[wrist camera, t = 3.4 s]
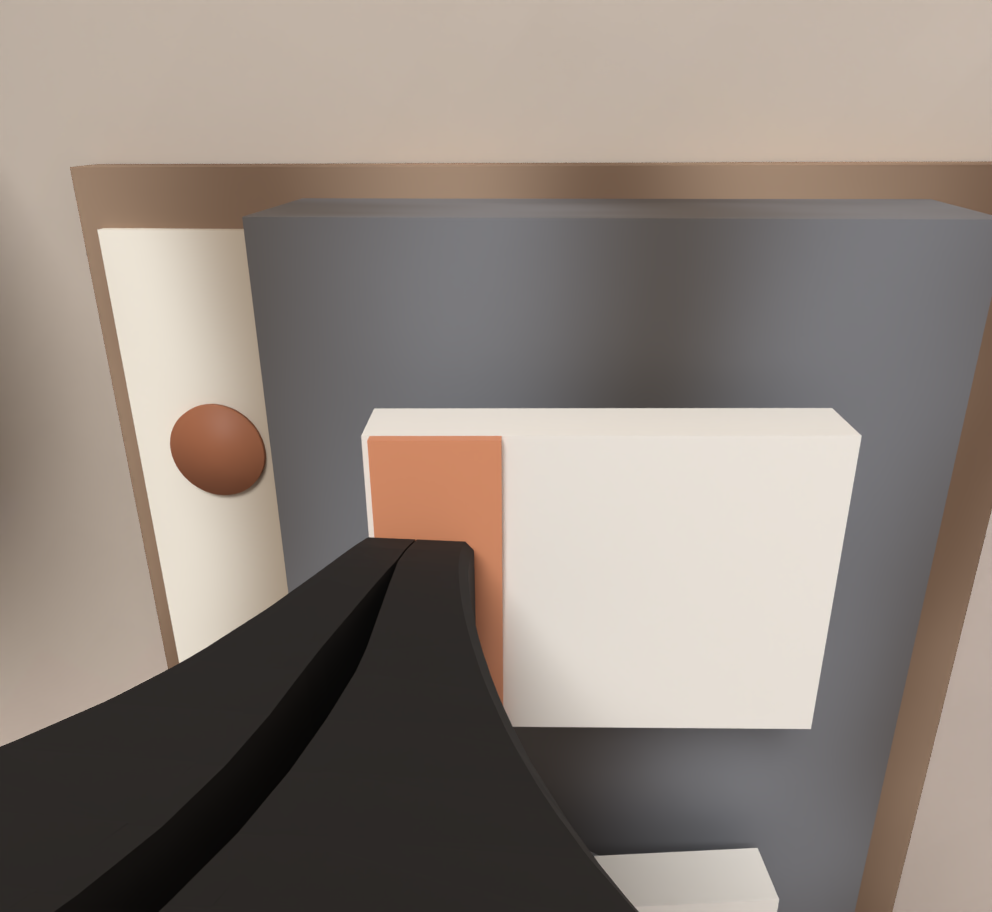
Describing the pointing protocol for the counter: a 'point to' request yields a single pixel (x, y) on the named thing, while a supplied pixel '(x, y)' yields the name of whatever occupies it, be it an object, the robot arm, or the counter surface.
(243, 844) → the robot arm
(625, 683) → the block
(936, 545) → the switch unit
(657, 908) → the block
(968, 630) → the counter surface
